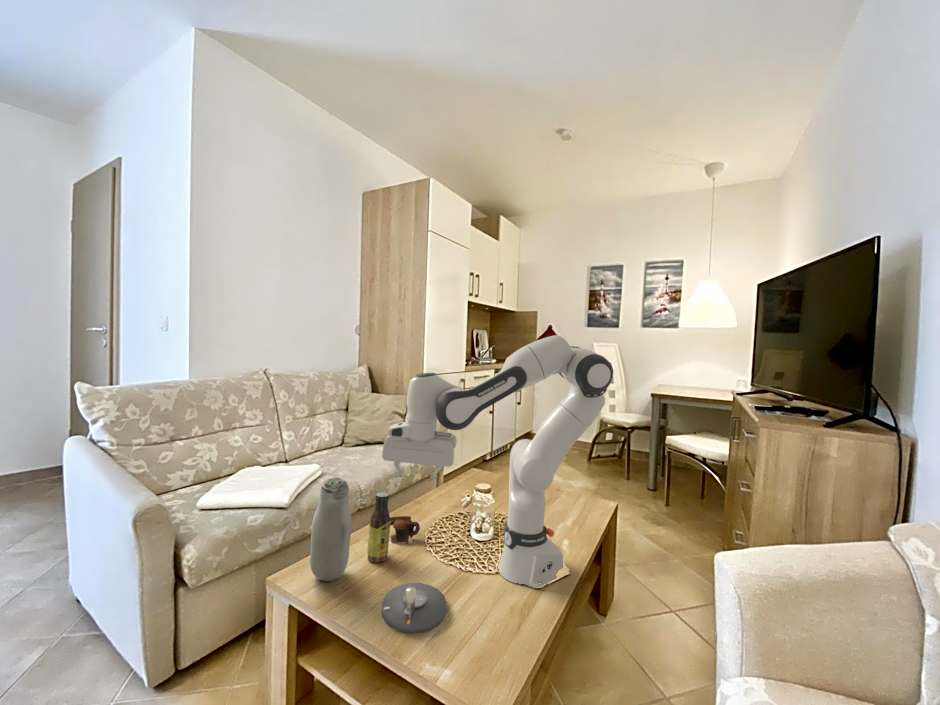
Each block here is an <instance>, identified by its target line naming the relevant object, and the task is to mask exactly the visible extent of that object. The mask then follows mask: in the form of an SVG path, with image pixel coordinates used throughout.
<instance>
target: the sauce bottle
mask: <svg viewBox="0 0 940 705" xmlns="http://www.w3.org/2000/svg"><path fill="white" fill-rule="evenodd" d="M389 499H390V494H389V493H388V492H385V491H380V492H379V491H378V492H377V493H376V494H375V504H374V505H375V506H374V510H373V511H372V513H371V515H370V522H369V528H368V529H369V530H368V540H367V551H366V552H367V560H368V561H369V562H371V563H376V564H377V563H382V562H385V561H386V560H387V558H388V554H389V544H390V533H391V532H390V531H391V526H390V522H391V519H390V518H391V515H390V511H389V506H388V504H389Z"/></svg>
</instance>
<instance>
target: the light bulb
mask: <svg viewBox="0 0 940 705" xmlns="http://www.w3.org/2000/svg"><path fill="white" fill-rule="evenodd" d="M426 602H427V595H426V593H425V592H424V591H422V590H419V589H416V588H415V587H414V586H408V587H407V588H406V592H405V593H404V595H403V604H404V606H405V611H404V617H407V618H410V617H411V615H412V613H413V611H414V609H420V608H422V607H424V606H425V605H426Z"/></svg>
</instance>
